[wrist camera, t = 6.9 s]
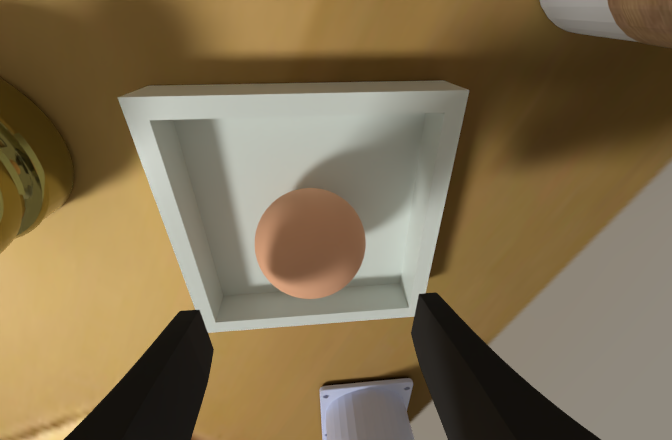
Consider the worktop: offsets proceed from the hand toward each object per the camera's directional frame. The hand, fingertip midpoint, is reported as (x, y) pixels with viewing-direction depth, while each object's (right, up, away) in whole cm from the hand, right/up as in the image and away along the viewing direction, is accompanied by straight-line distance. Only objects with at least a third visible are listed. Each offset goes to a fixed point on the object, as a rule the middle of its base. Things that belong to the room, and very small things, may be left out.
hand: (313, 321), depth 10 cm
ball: (-1, +4, +6) cm, 7 cm away
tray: (-1, +4, +6) cm, 7 cm away
